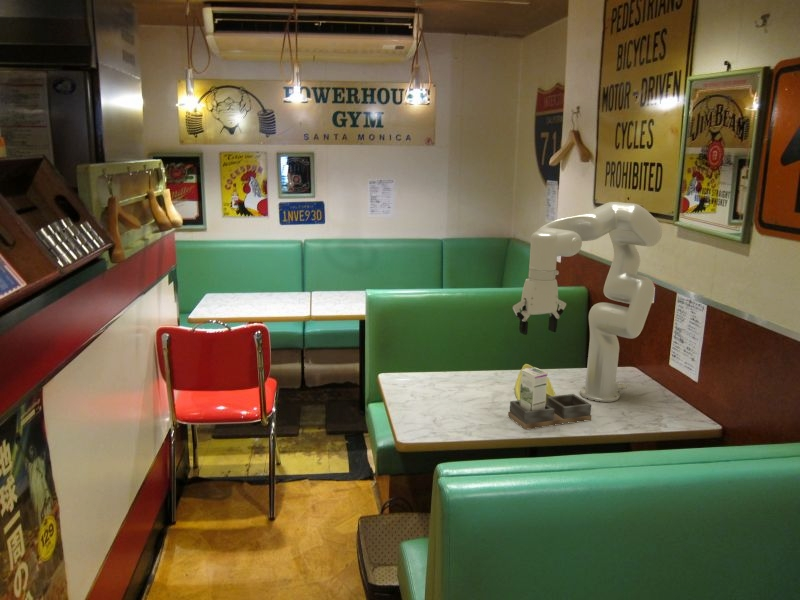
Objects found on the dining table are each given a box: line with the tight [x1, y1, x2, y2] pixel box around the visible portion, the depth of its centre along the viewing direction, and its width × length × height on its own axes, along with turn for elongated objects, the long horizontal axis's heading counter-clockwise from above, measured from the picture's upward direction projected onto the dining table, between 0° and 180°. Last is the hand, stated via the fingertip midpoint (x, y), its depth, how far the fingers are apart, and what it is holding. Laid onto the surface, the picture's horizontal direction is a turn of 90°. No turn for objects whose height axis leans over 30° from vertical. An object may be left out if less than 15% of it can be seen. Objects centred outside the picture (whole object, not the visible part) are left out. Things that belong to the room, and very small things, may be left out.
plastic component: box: [514, 363, 557, 404], centre depth 228 cm, size 20×7×10 cm
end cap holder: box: [507, 393, 592, 430], centre depth 207 cm, size 23×10×5 cm, turn 110°
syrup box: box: [519, 366, 549, 411], centre depth 204 cm, size 6×6×14 cm
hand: (537, 332), depth 199 cm, fingers open, 9 cm apart
